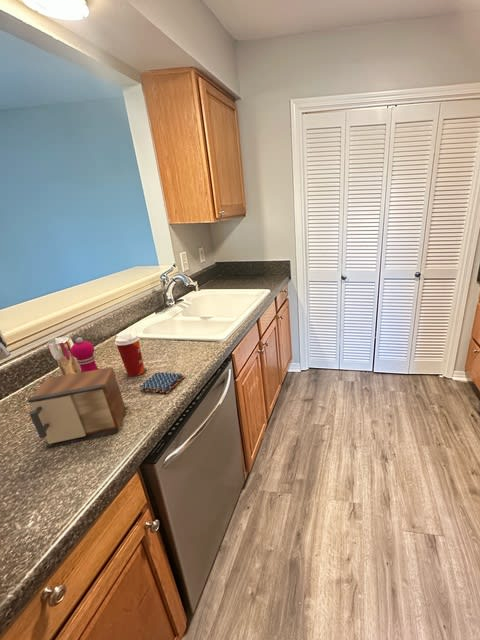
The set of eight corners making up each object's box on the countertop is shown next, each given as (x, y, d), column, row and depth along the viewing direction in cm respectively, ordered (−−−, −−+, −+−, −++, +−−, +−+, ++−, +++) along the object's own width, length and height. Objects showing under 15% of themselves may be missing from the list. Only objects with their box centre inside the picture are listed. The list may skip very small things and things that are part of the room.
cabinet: (48, 447, 82) (27, 400, 77) (64, 420, 93) (46, 377, 87) (117, 432, 86) (102, 387, 81) (125, 408, 97) (112, 366, 91)
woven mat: (168, 394, 102) (167, 389, 102) (139, 392, 105) (137, 386, 104) (185, 377, 112) (184, 372, 111) (158, 375, 114) (156, 370, 113)
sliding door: (42, 454, 79) (22, 412, 74) (49, 442, 83) (31, 401, 78) (81, 446, 81) (64, 404, 76) (86, 434, 85) (70, 393, 80)
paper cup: (151, 371, 117) (142, 336, 112) (129, 380, 112) (119, 343, 106) (142, 365, 122) (132, 331, 117) (120, 373, 117) (110, 338, 111)
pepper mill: (99, 401, 101) (79, 343, 93) (79, 399, 102) (57, 342, 94) (115, 388, 107) (97, 333, 99) (96, 387, 109) (77, 332, 101)
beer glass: (83, 371, 120) (70, 334, 114) (86, 378, 115) (73, 340, 109) (61, 378, 115) (46, 340, 110) (63, 385, 111) (48, 346, 105)
